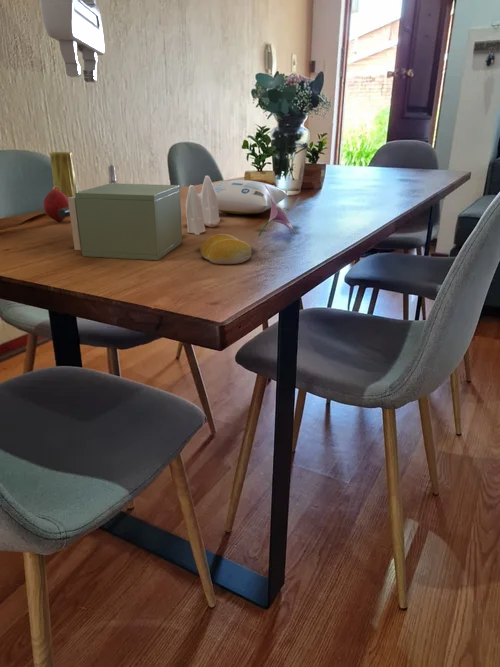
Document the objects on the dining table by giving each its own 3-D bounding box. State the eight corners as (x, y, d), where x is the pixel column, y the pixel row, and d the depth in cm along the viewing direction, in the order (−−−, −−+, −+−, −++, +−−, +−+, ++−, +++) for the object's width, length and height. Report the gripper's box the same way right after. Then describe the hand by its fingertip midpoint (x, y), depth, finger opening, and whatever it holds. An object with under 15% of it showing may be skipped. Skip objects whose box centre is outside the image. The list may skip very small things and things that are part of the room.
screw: (131, 223, 116) (122, 227, 112) (111, 222, 117) (102, 226, 113) (126, 163, 111) (116, 165, 107) (105, 163, 112) (95, 165, 108)
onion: (61, 225, 114) (56, 188, 111) (40, 223, 116) (35, 187, 112) (77, 220, 119) (73, 185, 116) (57, 219, 121) (52, 184, 118)
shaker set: (208, 223, 117) (207, 173, 112) (224, 225, 115) (224, 174, 111) (181, 233, 106) (178, 178, 102) (198, 235, 105) (196, 179, 101)
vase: (66, 214, 127) (58, 153, 122) (50, 211, 130) (42, 152, 125) (85, 210, 132) (78, 152, 126) (70, 208, 135) (62, 151, 129)
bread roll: (219, 268, 82) (218, 243, 80) (194, 256, 89) (193, 233, 88) (261, 261, 86) (262, 237, 85) (235, 250, 93) (234, 228, 92)
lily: (280, 251, 97) (306, 206, 95) (231, 221, 100) (254, 177, 98) (295, 256, 108) (318, 216, 106) (250, 229, 111) (271, 190, 109)
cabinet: (82, 256, 88) (74, 192, 84) (115, 239, 101) (110, 183, 97) (158, 260, 86) (153, 195, 82) (182, 242, 99) (179, 185, 94)
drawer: (51, 248, 90) (44, 196, 86) (85, 234, 101) (80, 187, 98) (142, 253, 87) (138, 200, 83) (166, 237, 98) (164, 190, 95)
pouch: (266, 187, 116) (288, 175, 134) (190, 186, 122) (220, 175, 139) (267, 222, 120) (288, 206, 137) (193, 219, 125) (222, 204, 143)
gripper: (72, -5, 87) (81, 85, 92) (25, -44, 68) (40, 72, 73) (109, -5, 87) (116, 85, 92) (72, -43, 68) (84, 73, 73)
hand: (82, 79), depth 82 cm, fingers open, 8 cm apart
